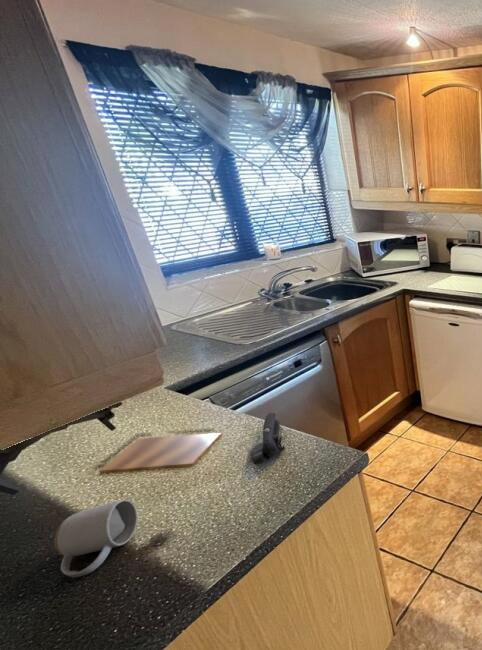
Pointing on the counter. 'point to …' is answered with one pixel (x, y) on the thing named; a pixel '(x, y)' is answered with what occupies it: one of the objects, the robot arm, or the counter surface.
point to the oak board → (162, 452)
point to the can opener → (268, 441)
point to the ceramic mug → (95, 533)
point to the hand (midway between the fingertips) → (62, 454)
